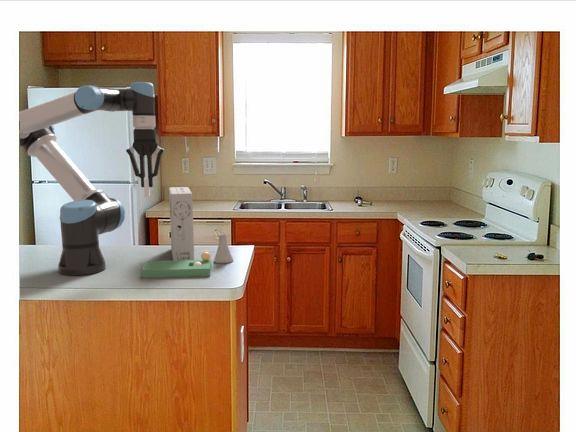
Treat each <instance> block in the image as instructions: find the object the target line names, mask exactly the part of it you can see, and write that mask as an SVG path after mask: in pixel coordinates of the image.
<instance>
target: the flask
mask: <svg viewBox="0 0 576 432" xmlns="http://www.w3.org/2000/svg"><path fill="white" fill-rule="evenodd" d="M218 238H219V239H218V240H219V241H218V246H217V250H216V253H215V255H214V259H213V263H216V264H229V263H232V262H233V261H234V257H233V255H232V252H231V250H230V247H229V243H228V240H227V238H228V234H227V233H219V234H218Z"/></svg>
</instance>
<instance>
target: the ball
mask: <svg viewBox="0 0 576 432" xmlns="http://www.w3.org/2000/svg"><path fill="white" fill-rule="evenodd" d="M193 266H202V263H200V262H195V263H194V264H193Z"/></svg>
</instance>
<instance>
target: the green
mask: <svg viewBox="0 0 576 432" xmlns="http://www.w3.org/2000/svg"><path fill="white" fill-rule="evenodd" d="M195 262H200V263H202V266H193V264H194V263H195ZM212 264H213V263H212V259H209V260H208V261H204V260H202V259H194V260H176V261H173V260H147V261H146V263H145V264H144V265H143V268H142V269H141V278H142V279H147V278H149V279H150V278H151V279H152V278H153V279H155V278H183V277H184V278H185V277H186V278H187V277H189V278H191V277H211V272H212Z"/></svg>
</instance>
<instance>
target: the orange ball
mask: <svg viewBox="0 0 576 432" xmlns="http://www.w3.org/2000/svg"><path fill="white" fill-rule="evenodd" d="M211 256H212V255H211V254H210V252H208V251H204V252H202V253H201V255H200V259H201V260H204V261H208V260H211Z"/></svg>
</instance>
